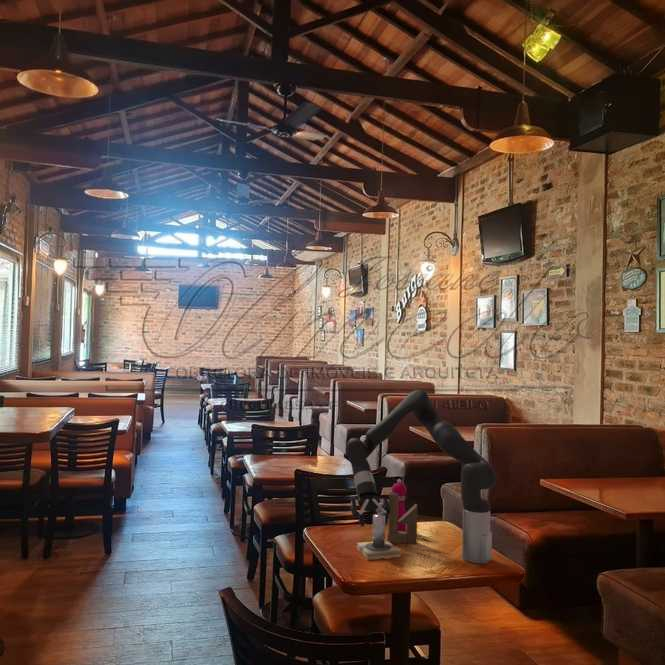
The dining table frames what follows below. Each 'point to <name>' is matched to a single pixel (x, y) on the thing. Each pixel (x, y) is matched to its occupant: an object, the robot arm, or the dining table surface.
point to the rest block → (378, 550)
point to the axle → (378, 531)
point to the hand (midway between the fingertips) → (374, 525)
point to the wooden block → (407, 519)
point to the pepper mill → (400, 501)
